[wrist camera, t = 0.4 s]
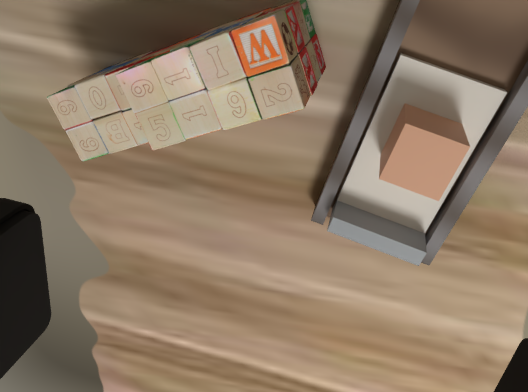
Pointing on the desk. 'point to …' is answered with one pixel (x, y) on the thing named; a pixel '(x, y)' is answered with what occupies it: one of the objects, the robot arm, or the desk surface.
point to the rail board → (457, 60)
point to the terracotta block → (423, 152)
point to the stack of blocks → (196, 85)
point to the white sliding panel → (368, 156)
